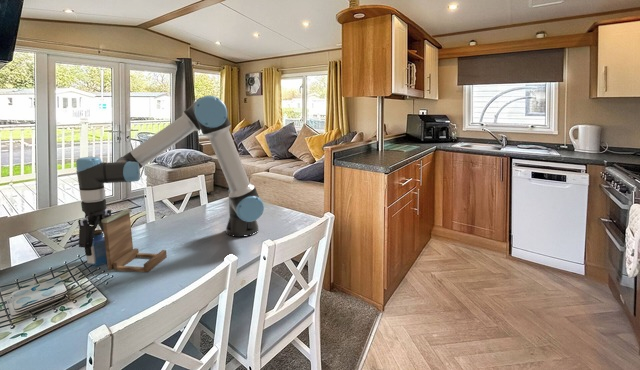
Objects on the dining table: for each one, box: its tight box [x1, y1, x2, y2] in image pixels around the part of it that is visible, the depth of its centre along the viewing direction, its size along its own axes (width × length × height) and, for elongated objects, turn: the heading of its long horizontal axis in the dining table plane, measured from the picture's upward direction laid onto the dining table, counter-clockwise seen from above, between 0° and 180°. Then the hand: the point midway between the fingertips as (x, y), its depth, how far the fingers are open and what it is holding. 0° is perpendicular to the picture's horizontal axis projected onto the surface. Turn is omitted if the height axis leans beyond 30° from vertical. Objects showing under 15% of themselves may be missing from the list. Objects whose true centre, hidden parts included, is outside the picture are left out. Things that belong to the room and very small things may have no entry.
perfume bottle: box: [88, 229, 107, 267], centre depth 126 cm, size 6×6×12 cm
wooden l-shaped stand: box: [101, 208, 168, 273], centre depth 125 cm, size 15×14×19 cm
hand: (100, 257), depth 127 cm, fingers closed on perfume bottle, 8 cm apart
